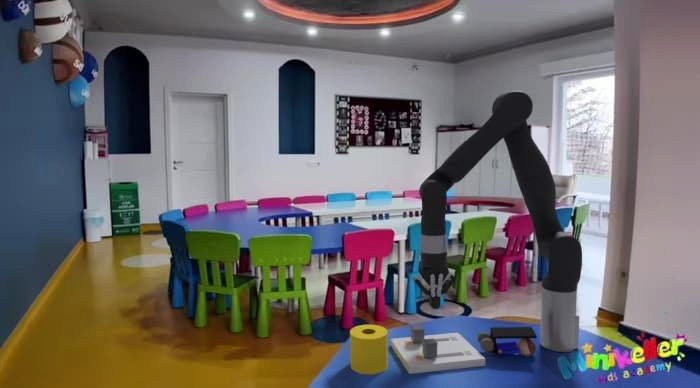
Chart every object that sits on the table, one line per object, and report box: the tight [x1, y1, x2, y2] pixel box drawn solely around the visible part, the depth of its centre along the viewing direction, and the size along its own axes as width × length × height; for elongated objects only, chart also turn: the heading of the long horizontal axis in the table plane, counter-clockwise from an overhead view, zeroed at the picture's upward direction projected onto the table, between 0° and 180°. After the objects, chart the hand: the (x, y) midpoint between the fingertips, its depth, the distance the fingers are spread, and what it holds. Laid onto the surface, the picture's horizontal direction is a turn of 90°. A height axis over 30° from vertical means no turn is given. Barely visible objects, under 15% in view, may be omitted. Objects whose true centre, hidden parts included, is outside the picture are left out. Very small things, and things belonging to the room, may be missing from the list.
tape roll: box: [349, 324, 389, 375], centre depth 127 cm, size 10×10×9 cm
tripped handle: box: [410, 324, 426, 343], centre depth 137 cm, size 3×3×4 cm
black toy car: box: [477, 326, 538, 357], centre depth 132 cm, size 7×8×15 cm
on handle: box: [422, 339, 438, 358], centre depth 127 cm, size 3×3×4 cm
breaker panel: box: [390, 332, 486, 375], centre depth 133 cm, size 21×18×2 cm
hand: (434, 308), depth 137 cm, fingers closed
